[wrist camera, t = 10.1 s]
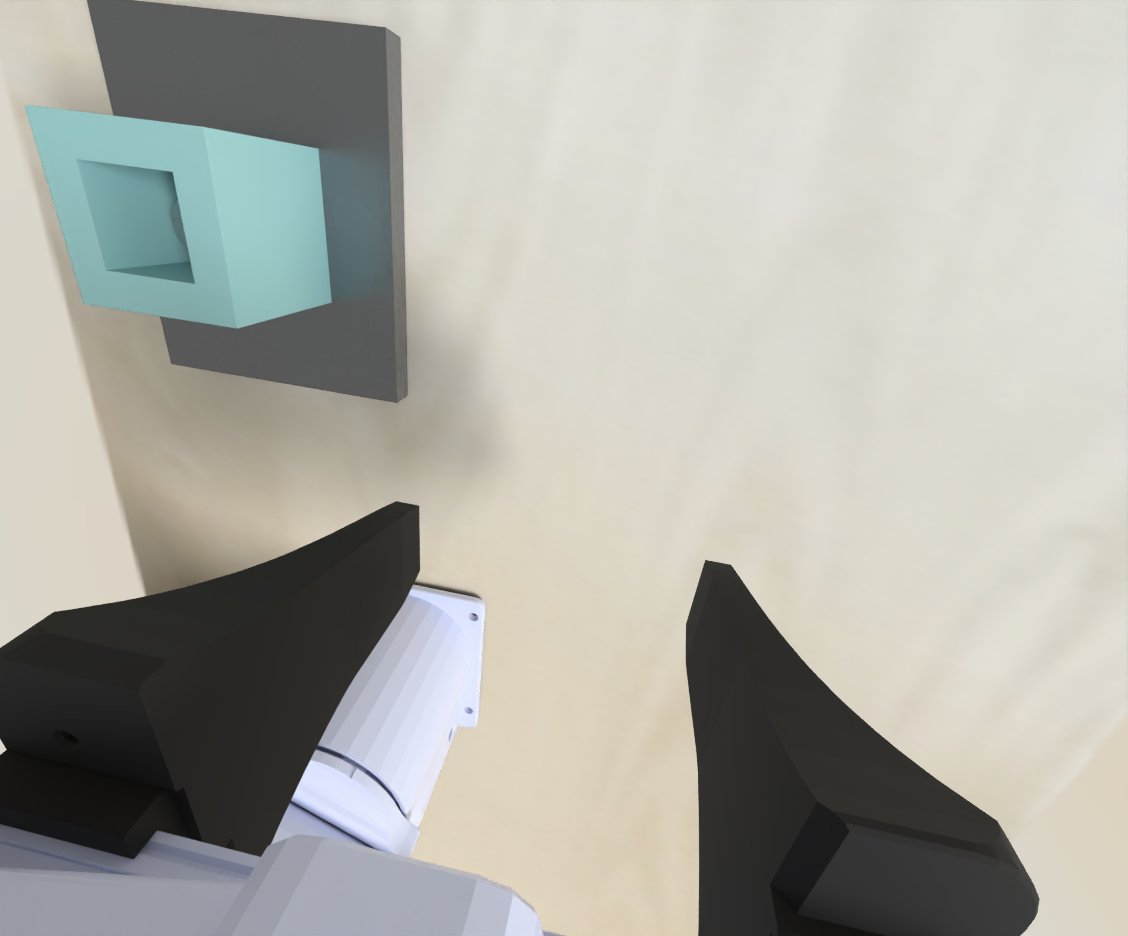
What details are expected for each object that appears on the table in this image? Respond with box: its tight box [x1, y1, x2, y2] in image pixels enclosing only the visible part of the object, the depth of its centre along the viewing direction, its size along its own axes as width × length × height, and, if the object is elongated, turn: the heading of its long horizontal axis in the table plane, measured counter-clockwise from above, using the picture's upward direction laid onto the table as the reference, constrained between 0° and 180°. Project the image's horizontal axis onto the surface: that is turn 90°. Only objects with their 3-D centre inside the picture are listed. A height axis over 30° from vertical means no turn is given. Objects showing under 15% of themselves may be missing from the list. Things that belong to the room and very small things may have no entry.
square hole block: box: [25, 105, 332, 329], centre depth 17 cm, size 5×5×5 cm
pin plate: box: [87, 0, 408, 403], centre depth 18 cm, size 12×10×4 cm
